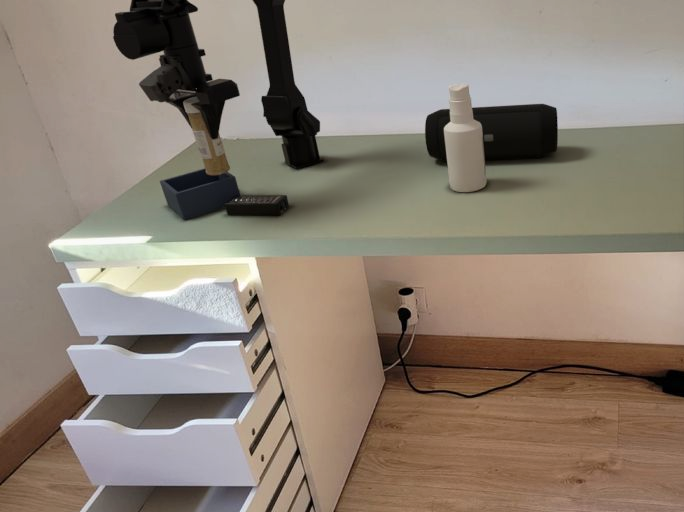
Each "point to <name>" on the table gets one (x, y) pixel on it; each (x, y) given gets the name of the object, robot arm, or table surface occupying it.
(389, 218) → the table surface
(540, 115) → the portable speaker
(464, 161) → the spray bottle
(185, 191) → the tub
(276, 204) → the multiport hub
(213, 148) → the sprinkles bottle
